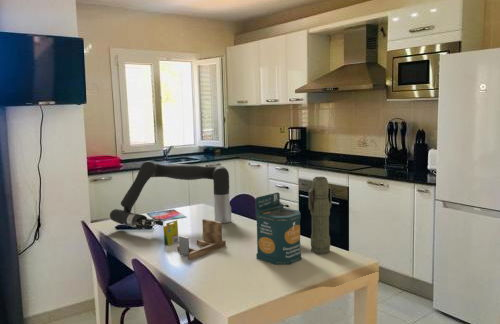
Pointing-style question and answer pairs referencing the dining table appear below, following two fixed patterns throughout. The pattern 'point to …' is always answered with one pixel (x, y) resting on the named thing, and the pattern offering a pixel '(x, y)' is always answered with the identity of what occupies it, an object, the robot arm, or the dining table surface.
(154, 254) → the dining table surface
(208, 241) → the rack
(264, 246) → the donation box
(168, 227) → the crayon box
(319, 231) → the thermos
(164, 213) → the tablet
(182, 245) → the bookend
